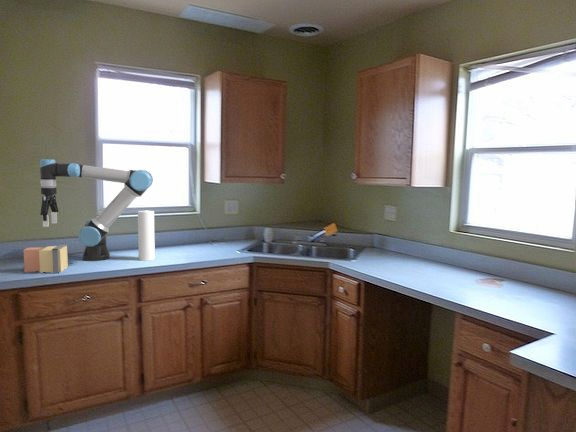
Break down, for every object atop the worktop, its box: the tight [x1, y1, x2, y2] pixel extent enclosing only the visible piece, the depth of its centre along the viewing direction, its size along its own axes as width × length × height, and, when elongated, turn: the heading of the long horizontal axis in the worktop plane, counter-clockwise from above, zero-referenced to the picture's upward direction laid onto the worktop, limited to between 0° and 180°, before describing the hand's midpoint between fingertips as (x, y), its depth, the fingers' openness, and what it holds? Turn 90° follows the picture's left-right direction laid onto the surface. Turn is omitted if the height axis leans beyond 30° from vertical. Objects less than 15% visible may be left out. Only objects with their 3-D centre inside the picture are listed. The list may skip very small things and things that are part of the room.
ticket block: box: [39, 243, 69, 274], centre depth 222 cm, size 10×15×13 cm, turn 13°
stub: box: [23, 246, 46, 273], centre depth 220 cm, size 8×6×12 cm
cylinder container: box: [137, 209, 156, 262], centre depth 252 cm, size 9×9×30 cm
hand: (50, 225), depth 232 cm, fingers open, 13 cm apart
